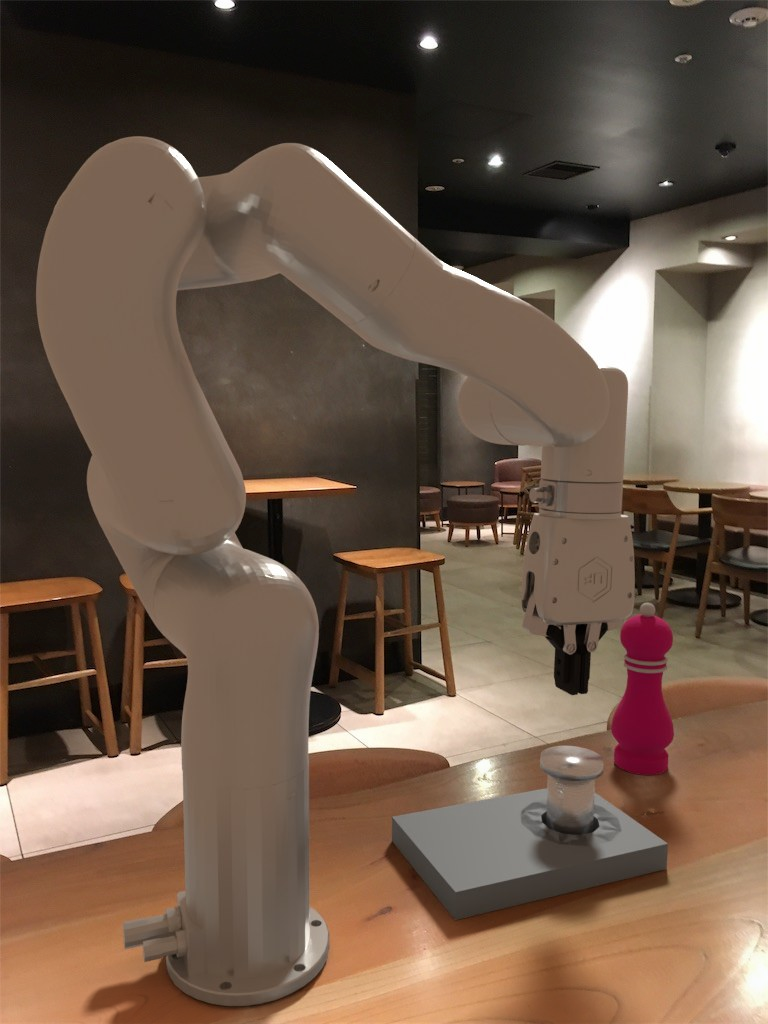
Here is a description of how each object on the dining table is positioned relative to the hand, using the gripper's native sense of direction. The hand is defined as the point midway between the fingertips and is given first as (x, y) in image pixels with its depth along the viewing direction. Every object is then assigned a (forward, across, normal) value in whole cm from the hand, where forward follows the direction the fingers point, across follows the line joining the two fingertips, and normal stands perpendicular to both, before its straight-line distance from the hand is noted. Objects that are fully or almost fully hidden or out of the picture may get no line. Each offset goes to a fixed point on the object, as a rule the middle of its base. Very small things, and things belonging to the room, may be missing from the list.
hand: (570, 689), depth 80 cm
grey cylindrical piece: (+16, +1, 0) cm, 16 cm away
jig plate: (+16, -4, 0) cm, 16 cm away
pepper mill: (+16, +20, +13) cm, 28 cm away
